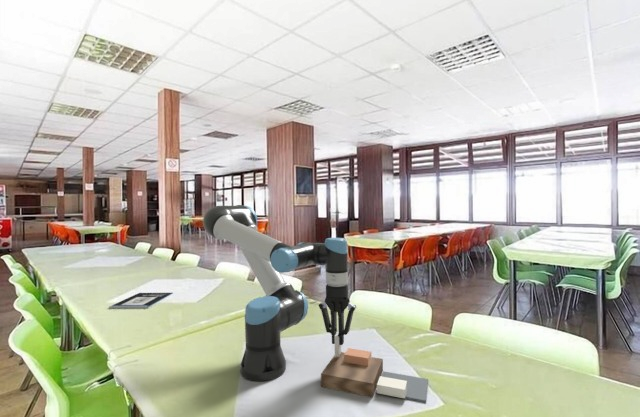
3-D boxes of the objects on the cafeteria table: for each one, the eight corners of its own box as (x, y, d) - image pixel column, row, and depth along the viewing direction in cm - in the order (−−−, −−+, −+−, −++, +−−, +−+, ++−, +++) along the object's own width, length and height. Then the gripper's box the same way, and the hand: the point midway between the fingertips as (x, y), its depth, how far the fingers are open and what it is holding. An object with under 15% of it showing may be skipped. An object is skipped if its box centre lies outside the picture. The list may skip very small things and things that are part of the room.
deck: (321, 386, 101) (321, 373, 101) (337, 362, 116) (337, 351, 116) (372, 397, 95) (372, 383, 95) (382, 370, 110) (382, 358, 110)
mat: (376, 392, 97) (376, 390, 97) (383, 373, 108) (383, 371, 108) (426, 402, 92) (426, 400, 92) (428, 380, 103) (428, 379, 103)
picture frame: (173, 294, 208) (173, 291, 207) (147, 310, 177) (147, 306, 177) (139, 294, 208) (139, 291, 208) (107, 310, 178) (107, 306, 178)
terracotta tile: (344, 362, 108) (344, 354, 108) (348, 355, 113) (348, 348, 113) (368, 366, 105) (368, 358, 105) (371, 359, 110) (371, 351, 110)
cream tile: (376, 393, 96) (376, 384, 96) (380, 384, 101) (380, 376, 101) (405, 398, 93) (405, 389, 93) (406, 389, 98) (406, 380, 98)
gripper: (314, 285, 110) (316, 355, 110) (352, 288, 105) (353, 361, 105) (322, 280, 117) (323, 346, 117) (358, 282, 112) (359, 351, 112)
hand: (338, 353), depth 111 cm, fingers closed
